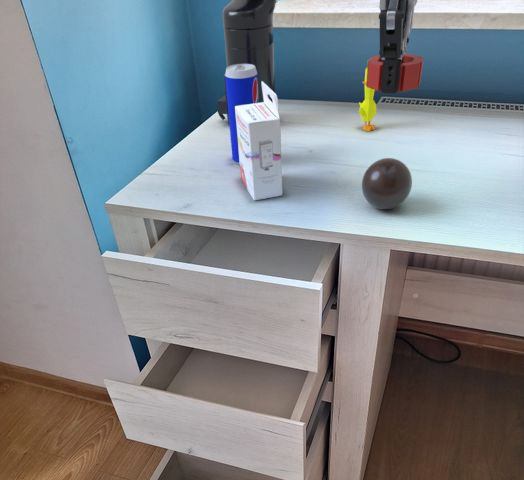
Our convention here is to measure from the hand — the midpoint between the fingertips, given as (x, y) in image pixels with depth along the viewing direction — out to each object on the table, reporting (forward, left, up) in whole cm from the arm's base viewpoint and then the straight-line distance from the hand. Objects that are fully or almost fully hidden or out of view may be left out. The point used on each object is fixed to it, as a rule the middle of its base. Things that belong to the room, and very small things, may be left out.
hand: (390, 89), depth 67 cm
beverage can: (-25, +11, -16) cm, 32 cm away
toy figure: (-7, +31, -16) cm, 35 cm away
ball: (+1, -1, -16) cm, 16 cm away
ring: (0, +3, 0) cm, 3 cm away
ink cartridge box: (-19, +1, -16) cm, 25 cm away
